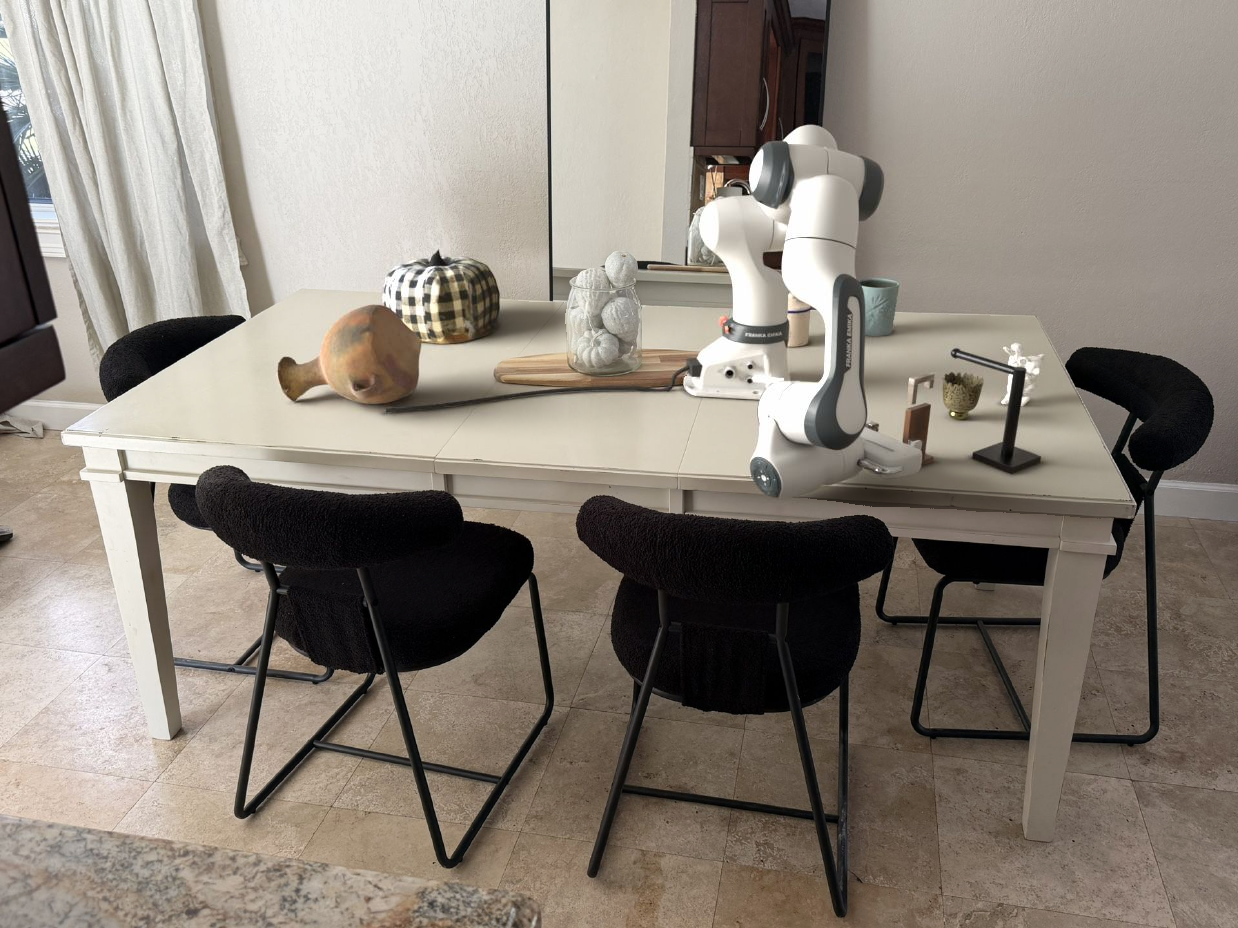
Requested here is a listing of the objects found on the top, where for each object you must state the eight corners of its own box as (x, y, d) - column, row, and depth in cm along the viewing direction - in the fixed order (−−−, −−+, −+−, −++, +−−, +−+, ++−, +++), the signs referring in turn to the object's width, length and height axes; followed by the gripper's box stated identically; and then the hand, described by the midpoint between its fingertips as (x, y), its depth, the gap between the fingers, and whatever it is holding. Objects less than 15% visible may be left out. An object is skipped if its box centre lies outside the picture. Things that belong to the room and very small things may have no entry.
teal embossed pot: (898, 337, 242) (903, 287, 237) (856, 337, 242) (860, 288, 237) (889, 325, 251) (893, 277, 246) (848, 325, 251) (852, 277, 246)
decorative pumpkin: (390, 315, 266) (382, 238, 258) (501, 310, 268) (496, 234, 260) (378, 348, 239) (368, 264, 231) (501, 343, 242) (496, 259, 233)
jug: (447, 390, 211) (318, 406, 218) (430, 296, 208) (300, 315, 215) (406, 405, 192) (267, 422, 199) (387, 302, 188) (246, 322, 195)
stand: (1011, 473, 170) (1026, 378, 163) (926, 440, 183) (937, 351, 177) (1040, 462, 174) (1056, 369, 167) (955, 430, 187) (967, 343, 181)
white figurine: (1000, 408, 198) (1009, 349, 193) (989, 396, 204) (998, 339, 199) (1043, 408, 198) (1053, 349, 193) (1032, 396, 204) (1041, 338, 199)
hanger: (913, 468, 172) (923, 382, 166) (891, 459, 176) (900, 374, 170) (933, 461, 175) (944, 376, 168) (911, 452, 179) (920, 369, 172)
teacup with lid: (806, 336, 243) (809, 288, 239) (811, 347, 235) (814, 298, 230) (756, 336, 244) (758, 288, 239) (759, 347, 236) (761, 298, 231)
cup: (972, 427, 189) (978, 387, 186) (933, 420, 192) (937, 380, 189) (982, 414, 195) (988, 375, 191) (944, 408, 198) (948, 369, 195)
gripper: (888, 457, 155) (948, 437, 162) (795, 417, 170) (854, 400, 177) (884, 494, 157) (943, 472, 164) (793, 451, 173) (851, 433, 180)
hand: (896, 434), depth 171 cm, fingers open, 8 cm apart
